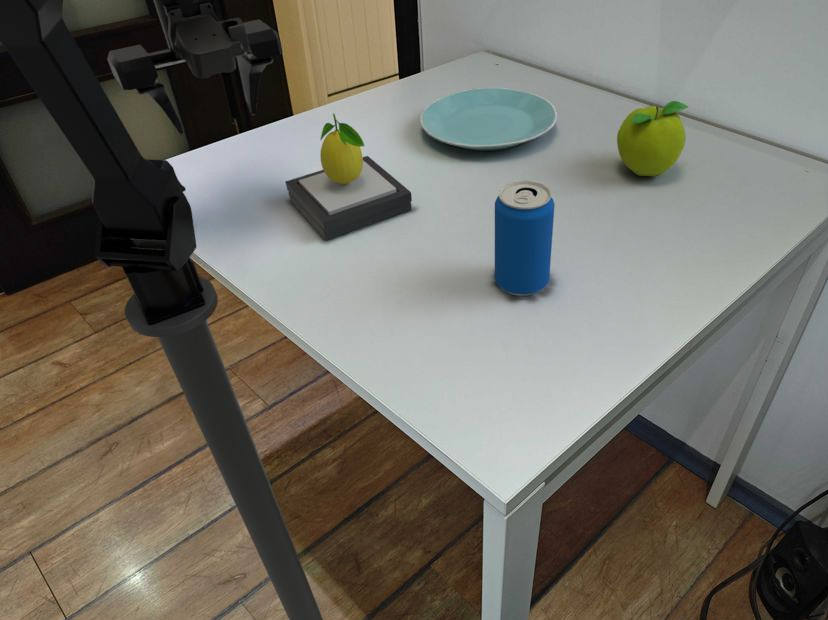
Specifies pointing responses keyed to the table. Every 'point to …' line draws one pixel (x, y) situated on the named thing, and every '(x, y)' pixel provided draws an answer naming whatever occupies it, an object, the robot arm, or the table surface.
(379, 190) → the scale pan
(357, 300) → the table surface
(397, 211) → the scale
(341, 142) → the lemon
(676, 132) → the fruit
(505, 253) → the beverage can
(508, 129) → the plate
